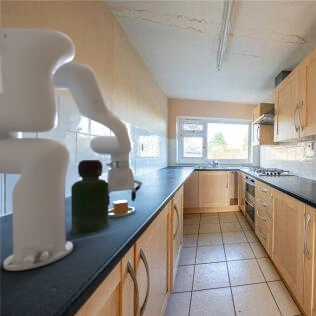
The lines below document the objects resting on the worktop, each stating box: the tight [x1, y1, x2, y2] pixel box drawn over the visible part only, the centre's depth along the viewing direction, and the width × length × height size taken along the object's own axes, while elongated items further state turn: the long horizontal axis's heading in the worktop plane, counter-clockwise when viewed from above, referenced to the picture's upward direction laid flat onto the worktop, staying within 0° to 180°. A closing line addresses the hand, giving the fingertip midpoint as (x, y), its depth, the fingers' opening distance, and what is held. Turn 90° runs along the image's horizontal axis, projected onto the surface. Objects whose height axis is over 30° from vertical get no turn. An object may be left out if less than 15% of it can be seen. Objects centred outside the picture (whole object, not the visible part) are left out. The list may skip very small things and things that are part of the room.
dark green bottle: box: [70, 159, 109, 235], centre depth 66 cm, size 10×10×25 cm
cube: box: [112, 199, 129, 214], centre depth 83 cm, size 5×5×5 cm
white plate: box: [108, 206, 135, 218], centre depth 83 cm, size 11×11×2 cm
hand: (121, 202), depth 83 cm, fingers open, 9 cm apart
